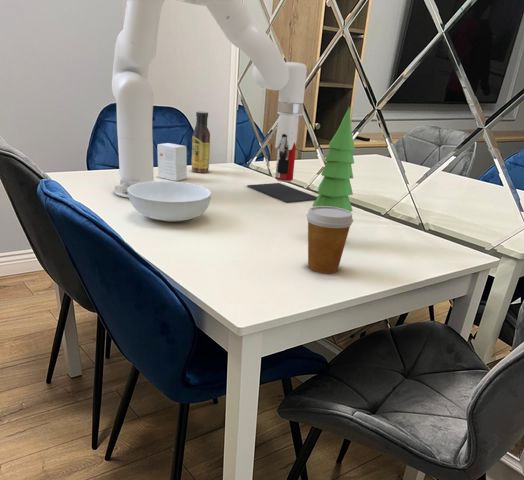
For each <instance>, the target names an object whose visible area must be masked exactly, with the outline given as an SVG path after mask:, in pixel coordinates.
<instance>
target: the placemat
mask: <svg viewBox="0 0 524 480" xmlns="http://www.w3.org/2000/svg"><path fill="white" fill-rule="evenodd" d="M247 188H250V189H252V190H255V191H257V192H259V193H262V194H264V195H267V196H269V197H272V198H274V199H277V200H279V201H282V202H284V203H286V204H289V203H290V204H291V203H301V202H311V201H315V200H316V199H317V197H318V196H315V195H313V194H310V193H307V192H304V191H303V190H300V189H296V188H294V187H291V186H289V185H286V184H283V183H281V182H272V183H259V184H247Z"/></svg>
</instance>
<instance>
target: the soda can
mask: <svg viewBox="0 0 524 480" xmlns="http://www.w3.org/2000/svg"><path fill="white" fill-rule="evenodd" d="M280 146H281V143H280ZM285 149H288V148H286V147H285ZM296 151H297V144H296V145H295V142H294V144H293V147H292V149H291V150H289V156H288V160H289V165H288V173H287V174H282V173H278V172H277V171H278V159H279V152H280V147H279V149H277V153H276V154H277V155H276V164H275V165H276V166H275V180H276V181H278V182H280V183H281V182H283V183H291V182H292V181H293V179H294V173H295V172H294V170H295V160H296ZM286 154H287V152H286Z"/></svg>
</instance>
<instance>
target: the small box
mask: <svg viewBox="0 0 524 480" xmlns="http://www.w3.org/2000/svg"><path fill="white" fill-rule="evenodd" d="M156 147H157V148H156V149H157V150H156V151H157V176H158V178H160V179H166V180H168V181H173V182H179V181H182V180H186V179H188V169H187V168H188V167H187V166H188V165H187V164H188V163H187V162H188V161H187V156H188V155H187V151H188V150H187V145H182V144H177V143H170V142H165V143H158V144H157V145H156Z"/></svg>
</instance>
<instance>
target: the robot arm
mask: <svg viewBox="0 0 524 480" xmlns="http://www.w3.org/2000/svg"><path fill="white" fill-rule="evenodd" d="M177 1H179V2H183V3H187V4H191V5H197V6H202V7H206V8H207V10H208V11H209V13H210V14H211V15H212V17H213V19H214V20H215V22H216V24H217V25H218V26H219V28H220V30H221V31H222V33H223V34H224V36H225V37H226V39H227V41H229V42H230V43H231V44H232V45H233V46H235V47H236V48H238V49H239V50H240V51H242V52H243V53H244V54H245V56H247V57H248V59H250V61H251V62H252V64H253V65H254V66H253V68H252V71H251V76H252V80H253V82H254V83H255V84H256V85H257V86H258V87H260V88H262V89H266V90H270V91H271V90H272V91H278V100H277V101H278V102H277V114H278V115H279V117H278V121H277V128H276V135H275V145H274V147H275V149H276V150H278V149H279V147H280V152H279V159H278V171H277V172H278V173H282V174H287V173H288V165H289V160H288V156H289V150H291V149H292V147H293V144H294V142H295V145H296V146H297V141H298V133H299V122H300V121H299V119H300V116H301V117H302V116H303V113H304V101H305V91H306V82H307V81H306V80H307V73H308V72H307V70H308V68H307V65H306V64H304V63H303V62H296V61H286V60H285V59H284V57H283V56H282V54H281V53H280V52H281V51H279V49H278V47H277V46H276V44H275V43H274V41H273V40H272V39H271V38H270V36H269V35H268V34H267V33H266V32H265V31H264V29H263V28H262V27H261V25H260V24H259V23H258V22H257V20H255V18H254V17H253V16H252V15H251V13H250V11H249V9H248V8H247V7H246V6H247V5H245V2H244V1H243V0H177ZM164 2H165V0H126V4H125V12H124V20H123V28H122V30H121V31H120V32H119V34H117V37H116V40H115V46H114V55H113V66H112V77H111V92H112V95H113V97H114V100H115V102H116V131H117V132H116V135H117V148H118V149H117V150H118V166H119V167H118V168H119V184H118V185H115V187H114V193H115V194H116V195H117V196H119V197H121V198H127V199H129V196H128V188H129V187H130V186H132V185H134V184H137V183H142V182H151V181H155V179H154V178H155V177H154V147H153V146H154V139H153V116H154V115H153V113H154V93H153V89H152V87H151V86H152V85H151V84H150V83H149V81H148V75H149V69H150V68H149V67H150V65H151V64H152V63H153V62H154V60H155V58H156V54H157V43H158V33H159V25H160V18H161V13H162V8H163V5H164ZM280 143H281V146H280ZM285 147H286V148H288V149H285ZM286 152H287V154H286Z"/></svg>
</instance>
